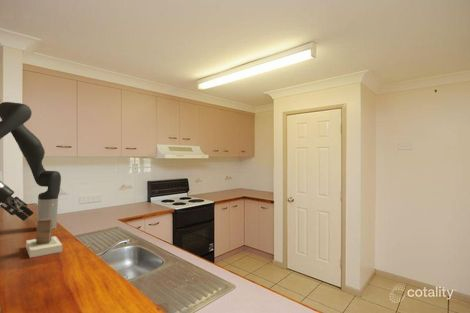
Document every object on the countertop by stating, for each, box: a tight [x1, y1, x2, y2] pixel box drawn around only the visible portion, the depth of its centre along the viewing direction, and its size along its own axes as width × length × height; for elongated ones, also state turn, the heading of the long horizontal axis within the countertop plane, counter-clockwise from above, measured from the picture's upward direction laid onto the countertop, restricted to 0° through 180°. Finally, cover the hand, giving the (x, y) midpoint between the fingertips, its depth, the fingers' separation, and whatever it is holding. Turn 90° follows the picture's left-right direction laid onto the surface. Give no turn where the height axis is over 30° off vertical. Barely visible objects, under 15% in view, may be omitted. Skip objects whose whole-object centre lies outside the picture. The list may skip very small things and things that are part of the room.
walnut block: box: [35, 218, 53, 244], centre depth 111 cm, size 5×5×10 cm
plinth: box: [25, 235, 63, 259], centre depth 111 cm, size 16×11×3 cm
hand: (29, 216), depth 109 cm, fingers open, 8 cm apart
